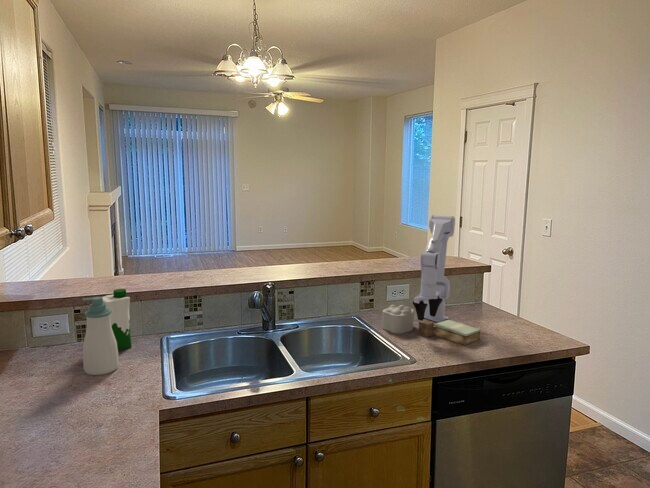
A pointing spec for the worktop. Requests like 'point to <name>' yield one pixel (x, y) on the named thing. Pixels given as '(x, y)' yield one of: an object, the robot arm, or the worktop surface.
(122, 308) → the milk carton
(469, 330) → the lid
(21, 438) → the worktop surface
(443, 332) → the box
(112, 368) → the soap bottle
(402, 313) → the lumpy-topped squat cylinder
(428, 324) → the walnut block
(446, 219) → the robot arm
